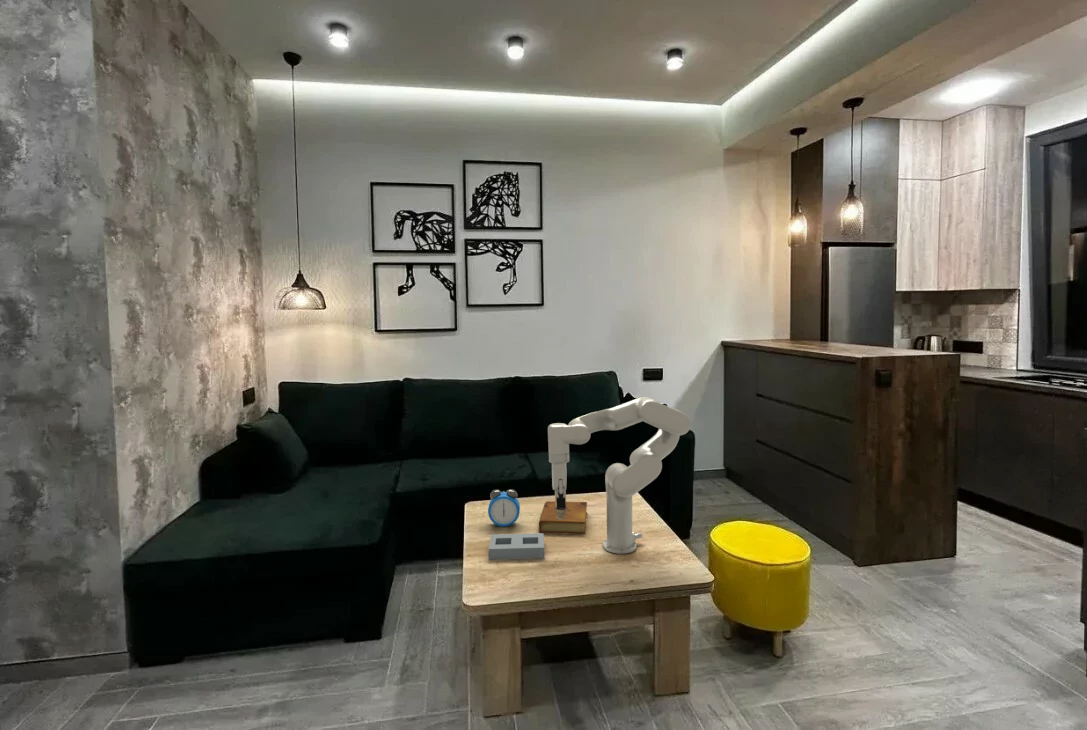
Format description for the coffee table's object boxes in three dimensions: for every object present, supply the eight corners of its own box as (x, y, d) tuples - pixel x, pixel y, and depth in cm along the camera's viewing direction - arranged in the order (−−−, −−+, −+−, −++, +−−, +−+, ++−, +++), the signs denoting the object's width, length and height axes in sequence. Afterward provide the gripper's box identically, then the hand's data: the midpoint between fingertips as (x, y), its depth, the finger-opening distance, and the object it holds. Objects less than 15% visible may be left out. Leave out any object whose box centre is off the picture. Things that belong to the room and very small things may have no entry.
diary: (544, 513, 242) (544, 501, 242) (587, 514, 240) (586, 502, 240) (538, 533, 219) (538, 520, 219) (585, 535, 217) (585, 521, 217)
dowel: (562, 515, 204) (561, 483, 203) (569, 518, 201) (567, 486, 200) (553, 517, 202) (552, 486, 201) (559, 520, 199) (558, 488, 198)
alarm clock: (488, 527, 225) (487, 492, 224) (489, 522, 232) (488, 487, 230) (519, 527, 226) (519, 491, 224) (520, 521, 232) (519, 487, 230)
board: (543, 543, 209) (543, 533, 209) (544, 558, 196) (544, 547, 196) (491, 544, 209) (491, 534, 208) (488, 559, 196) (488, 549, 195)
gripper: (548, 452, 208) (550, 498, 209) (549, 463, 191) (551, 514, 193) (567, 451, 208) (569, 497, 210) (570, 462, 191) (572, 513, 193)
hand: (560, 505), depth 201 cm, fingers closed on dowel, 4 cm apart
